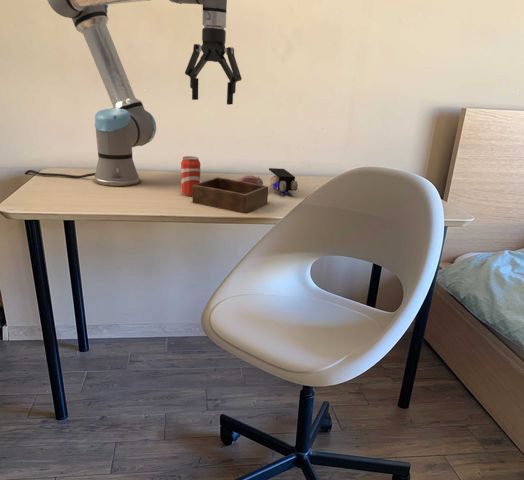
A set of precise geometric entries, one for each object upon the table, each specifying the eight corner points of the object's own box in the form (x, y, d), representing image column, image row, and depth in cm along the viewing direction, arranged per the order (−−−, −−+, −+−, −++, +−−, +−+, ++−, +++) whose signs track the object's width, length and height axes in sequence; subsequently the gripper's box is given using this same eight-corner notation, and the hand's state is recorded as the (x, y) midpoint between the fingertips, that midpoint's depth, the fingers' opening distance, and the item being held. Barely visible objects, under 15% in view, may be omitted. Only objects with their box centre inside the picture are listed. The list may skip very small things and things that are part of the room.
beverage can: (194, 191, 178) (194, 155, 172) (203, 196, 173) (203, 159, 167) (178, 192, 175) (178, 156, 169) (186, 197, 170) (186, 159, 164)
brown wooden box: (192, 202, 165) (192, 184, 163) (217, 193, 178) (217, 177, 175) (245, 213, 158) (246, 195, 156) (267, 203, 171) (268, 186, 168)
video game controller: (235, 196, 183) (238, 180, 177) (233, 187, 185) (235, 171, 179) (262, 196, 185) (265, 180, 179) (259, 187, 188) (262, 171, 182)
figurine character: (297, 201, 182) (282, 186, 193) (300, 179, 177) (284, 166, 188) (280, 201, 180) (265, 186, 191) (283, 180, 175) (267, 166, 186)
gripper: (174, 24, 163) (175, 98, 174) (243, 29, 154) (239, 106, 165) (187, 26, 169) (187, 97, 179) (254, 31, 160) (249, 105, 171)
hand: (212, 102), depth 172 cm, fingers open, 13 cm apart
